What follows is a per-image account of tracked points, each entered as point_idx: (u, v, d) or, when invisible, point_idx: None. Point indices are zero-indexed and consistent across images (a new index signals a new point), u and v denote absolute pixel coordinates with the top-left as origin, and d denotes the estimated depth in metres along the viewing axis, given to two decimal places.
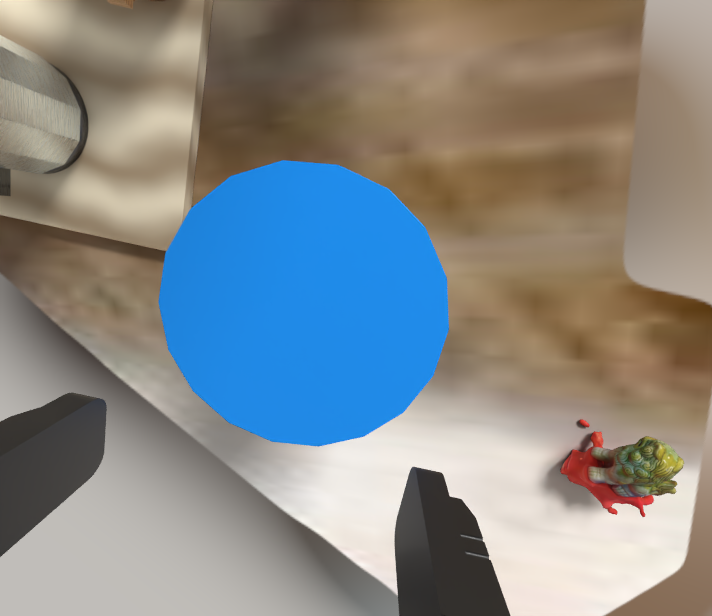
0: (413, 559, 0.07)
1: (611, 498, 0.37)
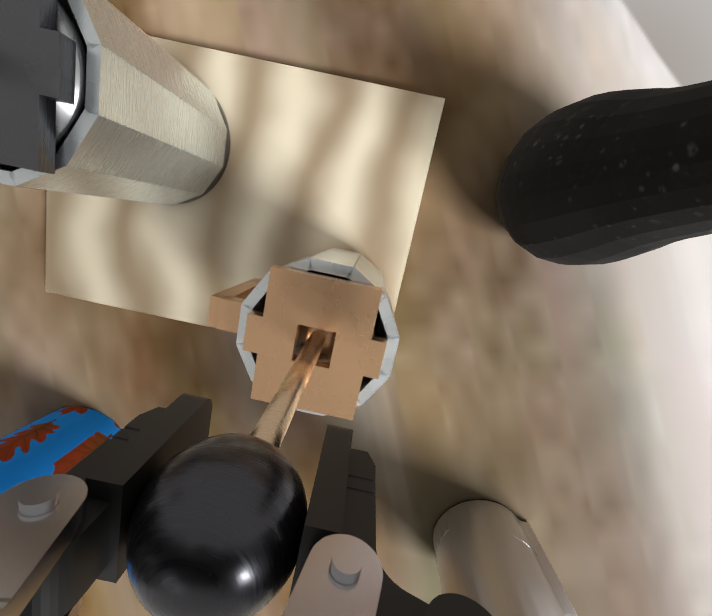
0: None
1: None
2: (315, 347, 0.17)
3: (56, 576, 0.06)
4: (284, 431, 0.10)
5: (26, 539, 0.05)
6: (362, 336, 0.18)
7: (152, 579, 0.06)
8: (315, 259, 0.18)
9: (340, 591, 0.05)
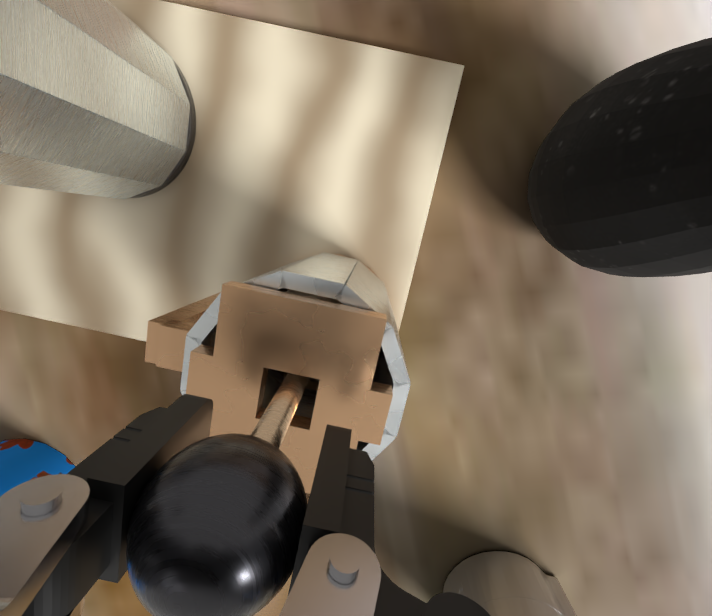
0: None
1: None
2: None
3: (58, 576, 0.06)
4: (284, 431, 0.11)
5: (29, 539, 0.05)
6: (357, 385, 0.12)
7: (152, 578, 0.06)
8: None
9: (338, 590, 0.05)
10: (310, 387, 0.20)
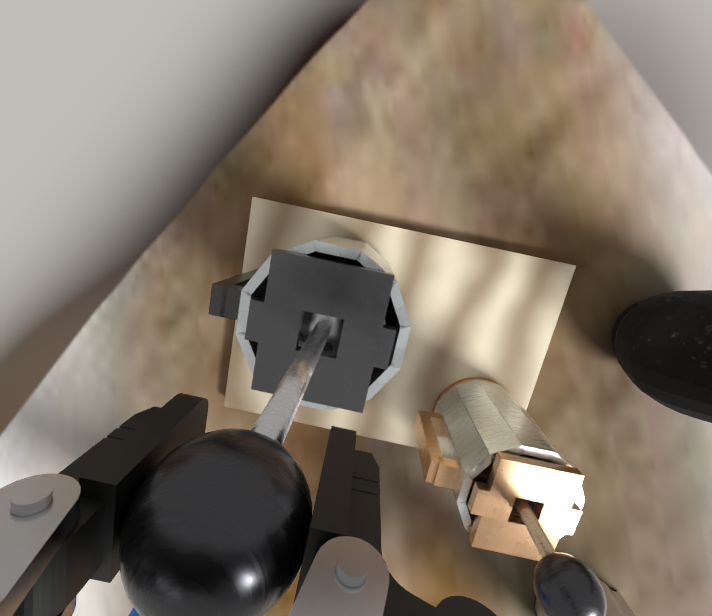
0: None
1: None
2: None
3: (49, 575, 0.05)
4: None
5: (17, 538, 0.05)
6: (564, 506, 0.24)
7: None
8: (526, 446, 0.25)
9: (347, 594, 0.05)
10: (483, 477, 0.32)
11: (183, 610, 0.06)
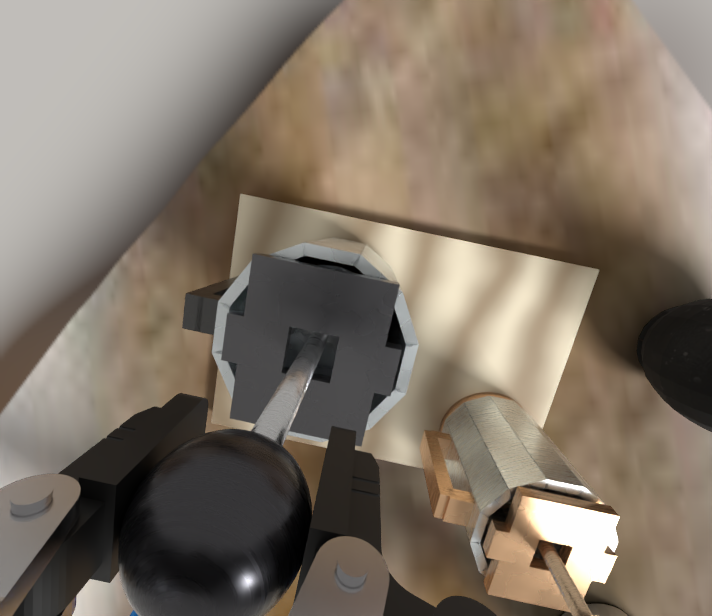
0: None
1: None
2: None
3: (49, 575, 0.05)
4: (578, 592, 0.19)
5: (18, 538, 0.05)
6: (596, 550, 0.21)
7: None
8: (550, 479, 0.21)
9: (347, 594, 0.05)
10: None
11: (182, 611, 0.06)
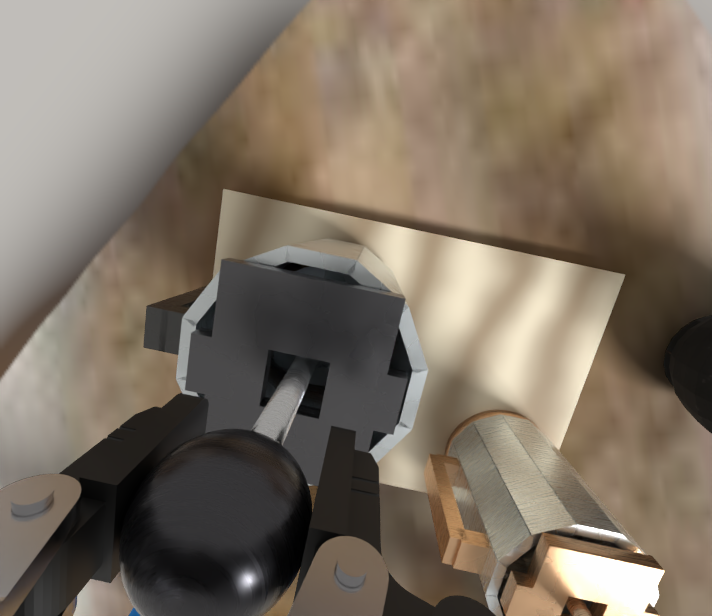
0: None
1: None
2: None
3: (49, 576, 0.05)
4: None
5: (19, 538, 0.05)
6: (635, 609, 0.18)
7: None
8: (581, 524, 0.18)
9: (346, 593, 0.05)
10: None
11: (184, 610, 0.06)
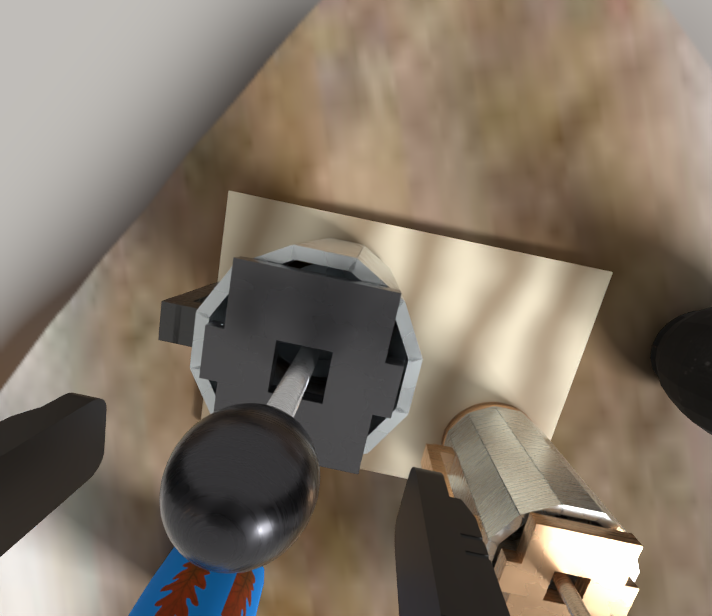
0: (413, 559, 0.07)
1: None
2: None
3: None
4: None
5: None
6: (616, 582, 0.19)
7: None
8: (566, 504, 0.19)
9: None
10: None
11: (218, 542, 0.07)
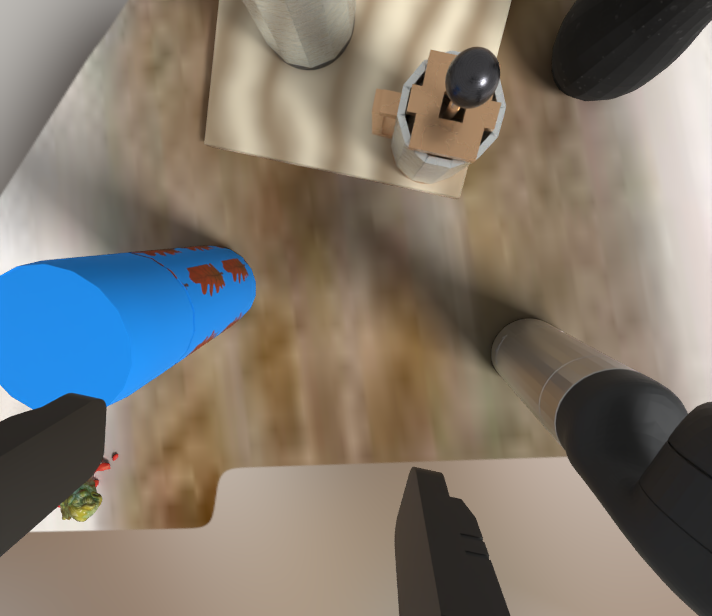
0: (413, 559, 0.07)
1: None
2: None
3: None
4: None
5: None
6: None
7: (471, 62, 0.22)
8: (454, 52, 0.29)
9: None
10: None
11: None
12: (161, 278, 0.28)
